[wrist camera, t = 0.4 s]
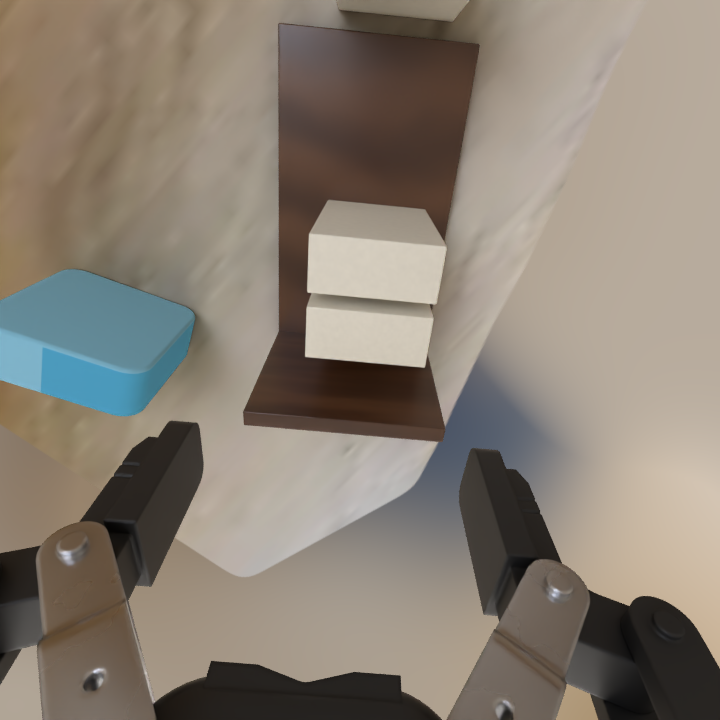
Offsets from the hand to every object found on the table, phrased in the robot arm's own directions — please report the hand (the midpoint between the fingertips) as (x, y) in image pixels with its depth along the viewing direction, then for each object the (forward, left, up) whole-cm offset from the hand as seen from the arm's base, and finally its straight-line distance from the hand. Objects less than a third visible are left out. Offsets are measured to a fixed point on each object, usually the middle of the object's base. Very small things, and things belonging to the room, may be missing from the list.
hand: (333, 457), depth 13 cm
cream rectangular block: (-1, +1, -27) cm, 27 cm away
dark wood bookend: (-2, 0, -28) cm, 28 cm away
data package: (+9, -21, -28) cm, 36 cm away
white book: (+3, +1, -27) cm, 27 cm away
